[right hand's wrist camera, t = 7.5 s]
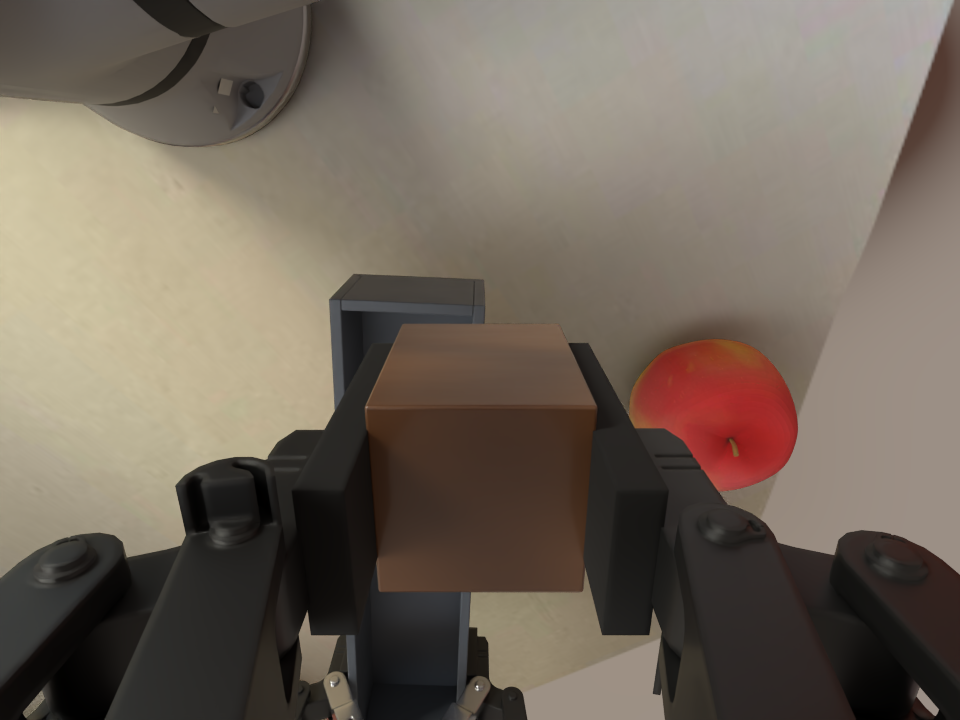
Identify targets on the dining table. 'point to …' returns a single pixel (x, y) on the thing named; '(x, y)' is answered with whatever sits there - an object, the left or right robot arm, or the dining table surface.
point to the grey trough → (388, 615)
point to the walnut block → (480, 460)
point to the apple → (720, 409)
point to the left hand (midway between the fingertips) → (415, 635)
